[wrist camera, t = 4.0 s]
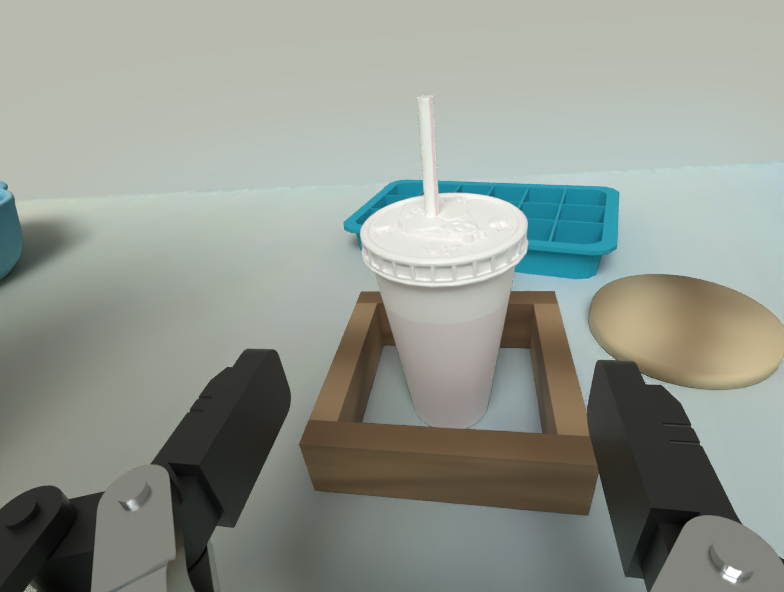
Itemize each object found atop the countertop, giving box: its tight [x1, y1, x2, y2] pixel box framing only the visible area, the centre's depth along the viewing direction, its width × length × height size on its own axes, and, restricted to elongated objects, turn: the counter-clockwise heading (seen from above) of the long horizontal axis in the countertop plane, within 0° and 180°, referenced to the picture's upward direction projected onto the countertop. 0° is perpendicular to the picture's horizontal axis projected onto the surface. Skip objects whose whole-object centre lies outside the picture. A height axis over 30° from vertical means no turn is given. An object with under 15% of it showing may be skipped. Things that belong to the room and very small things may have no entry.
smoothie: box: [360, 95, 528, 429], centre depth 18 cm, size 6×6×14 cm
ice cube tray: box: [344, 180, 619, 279], centre depth 36 cm, size 12×20×3 cm, turn 66°
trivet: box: [589, 274, 784, 390], centre depth 24 cm, size 9×9×1 cm
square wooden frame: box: [299, 291, 599, 515], centre depth 21 cm, size 11×11×3 cm
